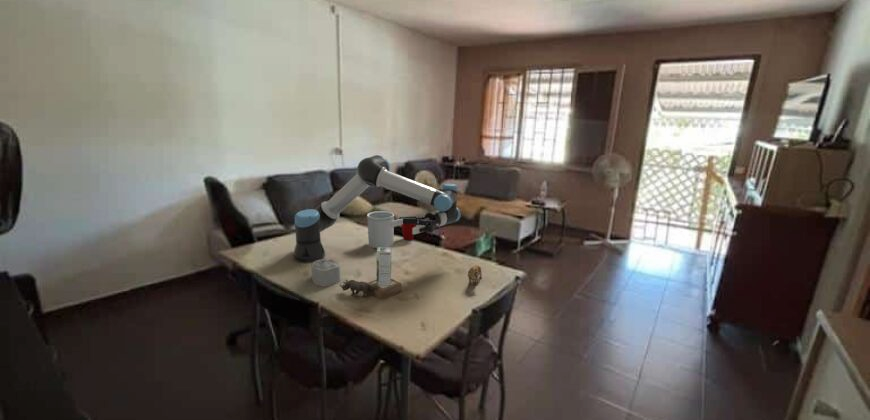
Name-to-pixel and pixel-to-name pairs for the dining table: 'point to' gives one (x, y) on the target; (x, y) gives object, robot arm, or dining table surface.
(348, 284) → the rhino figurine
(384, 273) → the syrup box
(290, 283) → the dining table surface
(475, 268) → the lion figurine
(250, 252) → the dining table surface
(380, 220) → the utensil holder
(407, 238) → the plastic cup
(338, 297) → the dining table surface
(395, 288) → the walnut plinth
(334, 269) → the lumpy-topped squat cylinder
